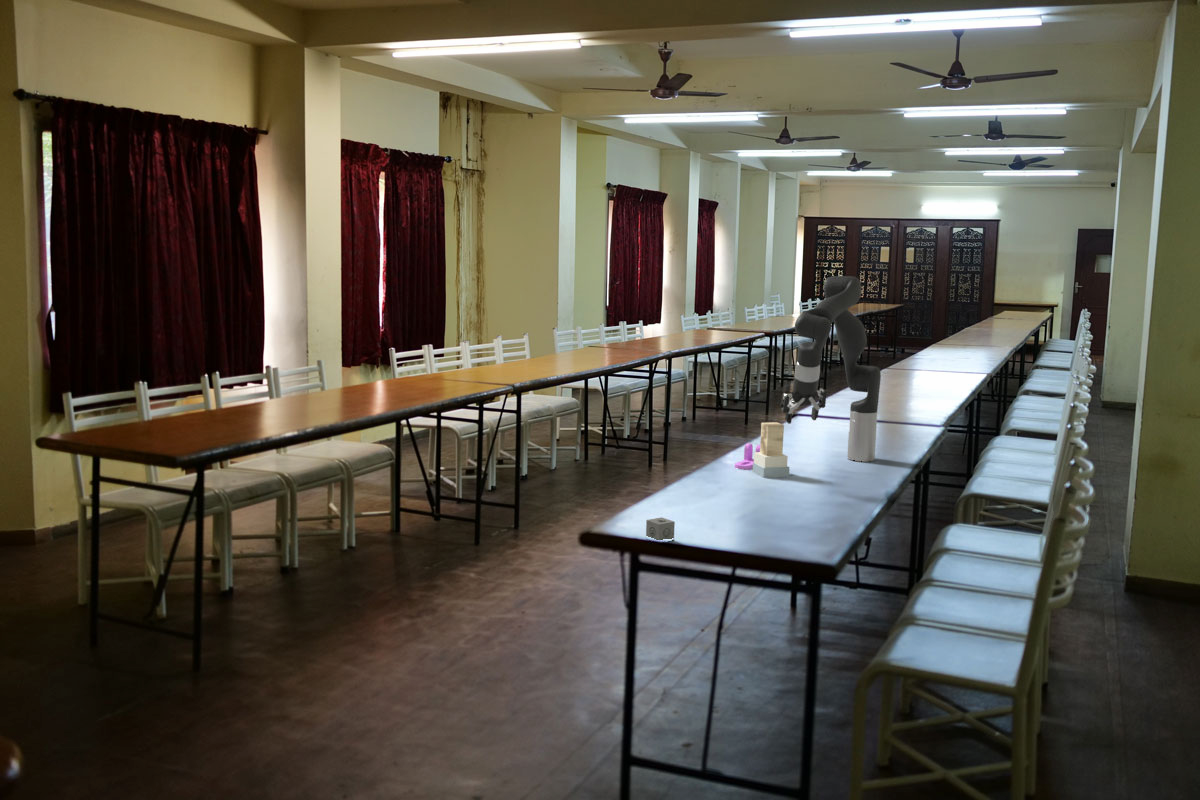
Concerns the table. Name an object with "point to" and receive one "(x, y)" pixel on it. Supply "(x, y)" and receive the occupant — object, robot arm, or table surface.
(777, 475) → the tower base
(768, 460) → the tower top
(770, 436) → the maple pillar
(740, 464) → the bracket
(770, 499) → the table surface
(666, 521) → the dice cube
